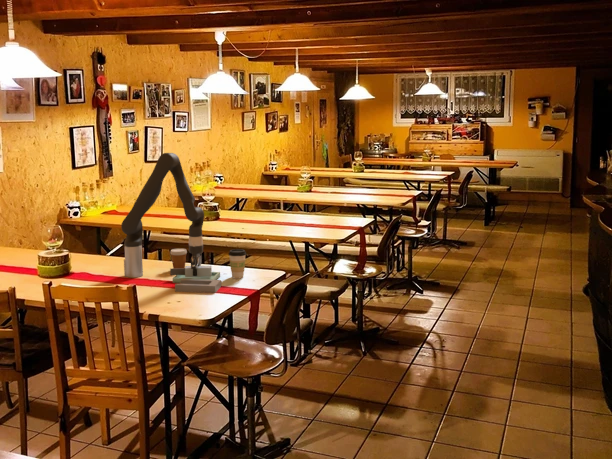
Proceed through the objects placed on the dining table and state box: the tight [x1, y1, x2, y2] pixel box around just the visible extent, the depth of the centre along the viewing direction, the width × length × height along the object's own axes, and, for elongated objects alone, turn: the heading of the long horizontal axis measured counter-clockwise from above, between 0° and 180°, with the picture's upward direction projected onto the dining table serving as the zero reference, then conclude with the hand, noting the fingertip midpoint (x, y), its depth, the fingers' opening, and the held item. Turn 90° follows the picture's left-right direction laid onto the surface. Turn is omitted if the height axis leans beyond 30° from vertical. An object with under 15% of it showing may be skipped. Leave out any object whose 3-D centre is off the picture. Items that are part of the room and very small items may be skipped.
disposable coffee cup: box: [169, 248, 188, 268], centre depth 361 cm, size 10×10×12 cm
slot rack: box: [174, 279, 222, 294], centre depth 323 cm, size 21×12×4 cm, turn 84°
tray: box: [172, 271, 221, 284], centre depth 342 cm, size 22×16×2 cm
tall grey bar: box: [169, 265, 213, 277], centre depth 341 cm, size 22×5×5 cm, turn 96°
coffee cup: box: [228, 248, 247, 280], centre depth 346 cm, size 10×10×15 cm
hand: (196, 274), depth 341 cm, fingers closed on tall grey bar, 5 cm apart
